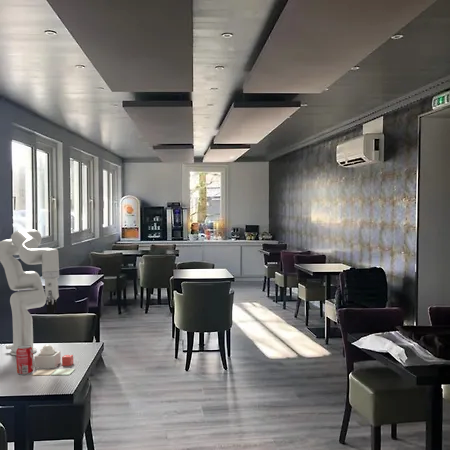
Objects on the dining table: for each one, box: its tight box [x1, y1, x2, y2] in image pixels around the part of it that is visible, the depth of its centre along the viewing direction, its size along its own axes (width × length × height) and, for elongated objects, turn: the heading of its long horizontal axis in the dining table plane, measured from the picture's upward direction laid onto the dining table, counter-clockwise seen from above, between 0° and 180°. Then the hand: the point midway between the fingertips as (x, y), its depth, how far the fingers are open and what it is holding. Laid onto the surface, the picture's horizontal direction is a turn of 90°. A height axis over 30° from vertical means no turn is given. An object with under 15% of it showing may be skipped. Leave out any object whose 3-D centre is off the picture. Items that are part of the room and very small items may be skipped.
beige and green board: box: [31, 368, 76, 377], centre depth 238 cm, size 16×8×1 cm, turn 89°
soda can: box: [15, 345, 34, 376], centre depth 238 cm, size 7×7×12 cm
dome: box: [39, 344, 56, 356], centre depth 250 cm, size 6×6×5 cm
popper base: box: [34, 350, 62, 369], centre depth 250 cm, size 9×9×6 cm
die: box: [61, 354, 74, 367], centre depth 251 cm, size 4×4×4 cm
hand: (52, 311), depth 250 cm, fingers open, 9 cm apart
